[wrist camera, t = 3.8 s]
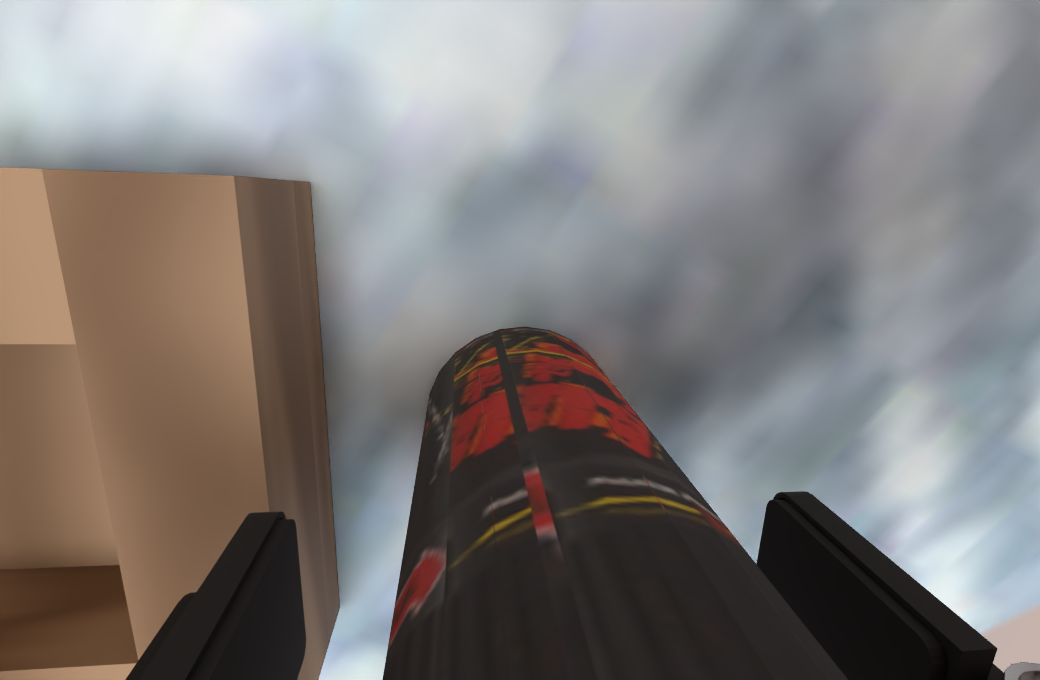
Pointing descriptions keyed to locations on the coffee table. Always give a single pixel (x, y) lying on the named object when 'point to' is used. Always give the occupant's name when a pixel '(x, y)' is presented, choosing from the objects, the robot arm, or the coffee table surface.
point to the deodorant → (571, 540)
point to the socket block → (152, 405)
